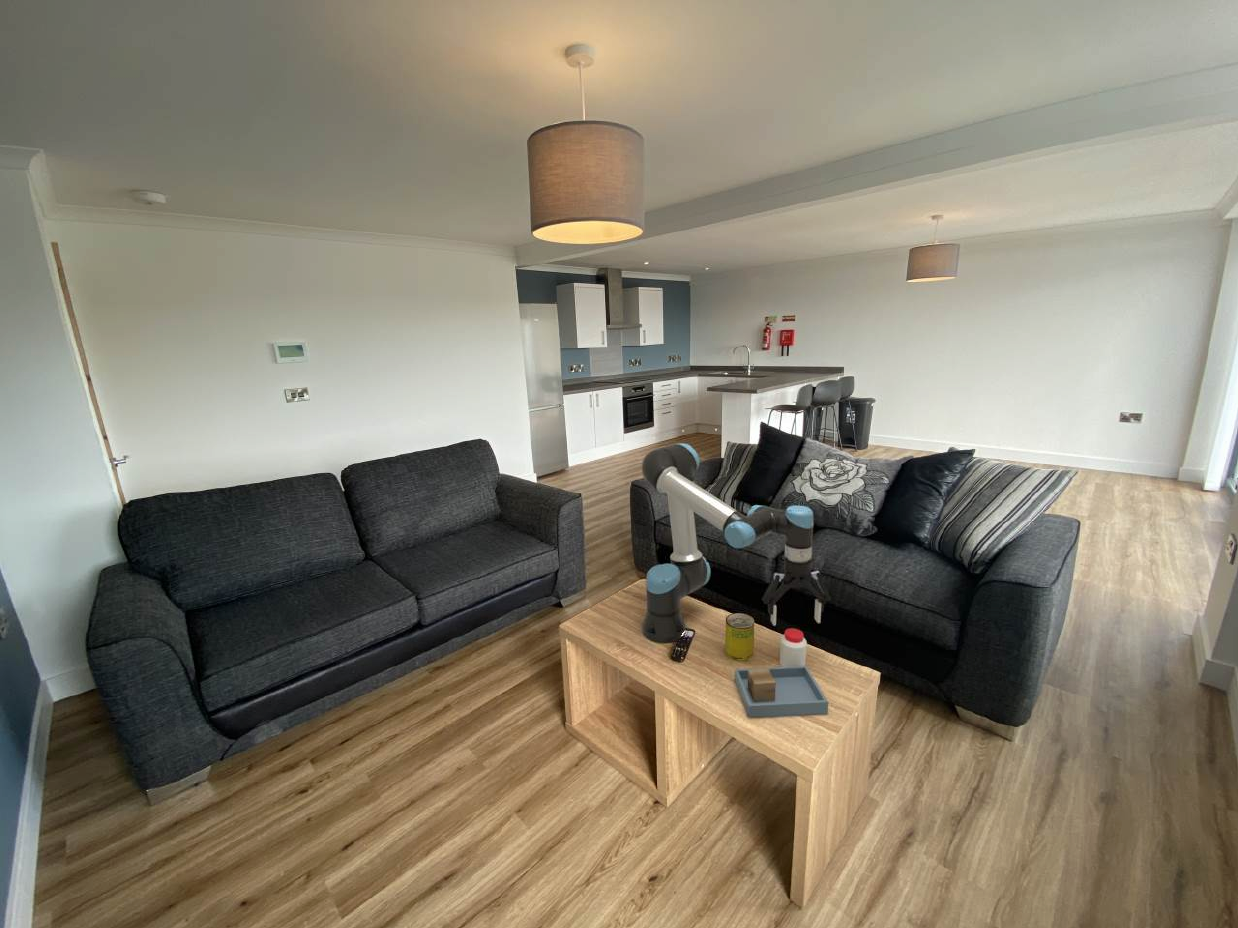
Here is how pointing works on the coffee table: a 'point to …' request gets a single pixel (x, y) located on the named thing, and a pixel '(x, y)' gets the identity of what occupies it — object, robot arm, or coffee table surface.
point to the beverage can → (739, 637)
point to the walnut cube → (761, 685)
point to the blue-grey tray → (784, 693)
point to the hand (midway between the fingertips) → (795, 621)
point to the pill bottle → (793, 648)
